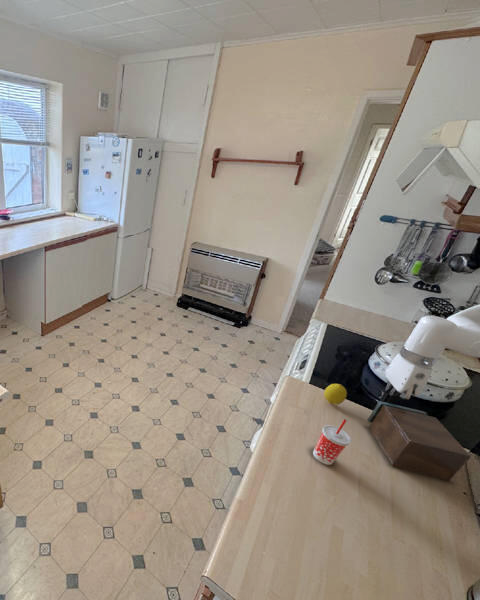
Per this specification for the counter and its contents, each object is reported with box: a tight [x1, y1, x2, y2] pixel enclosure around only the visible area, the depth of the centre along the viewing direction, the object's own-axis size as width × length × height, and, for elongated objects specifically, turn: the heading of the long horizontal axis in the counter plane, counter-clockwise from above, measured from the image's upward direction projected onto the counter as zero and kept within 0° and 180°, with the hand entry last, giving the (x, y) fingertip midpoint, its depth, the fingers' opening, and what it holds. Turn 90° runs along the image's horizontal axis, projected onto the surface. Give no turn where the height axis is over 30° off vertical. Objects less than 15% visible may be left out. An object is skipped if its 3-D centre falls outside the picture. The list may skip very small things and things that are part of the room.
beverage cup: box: [312, 419, 352, 466], centre depth 85 cm, size 6×6×14 cm
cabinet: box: [368, 405, 472, 482], centre depth 89 cm, size 14×13×10 cm
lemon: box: [323, 383, 348, 405], centre depth 106 cm, size 6×6×8 cm
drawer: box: [367, 400, 428, 424], centre depth 94 cm, size 17×11×8 cm
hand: (386, 403), depth 102 cm, fingers closed
